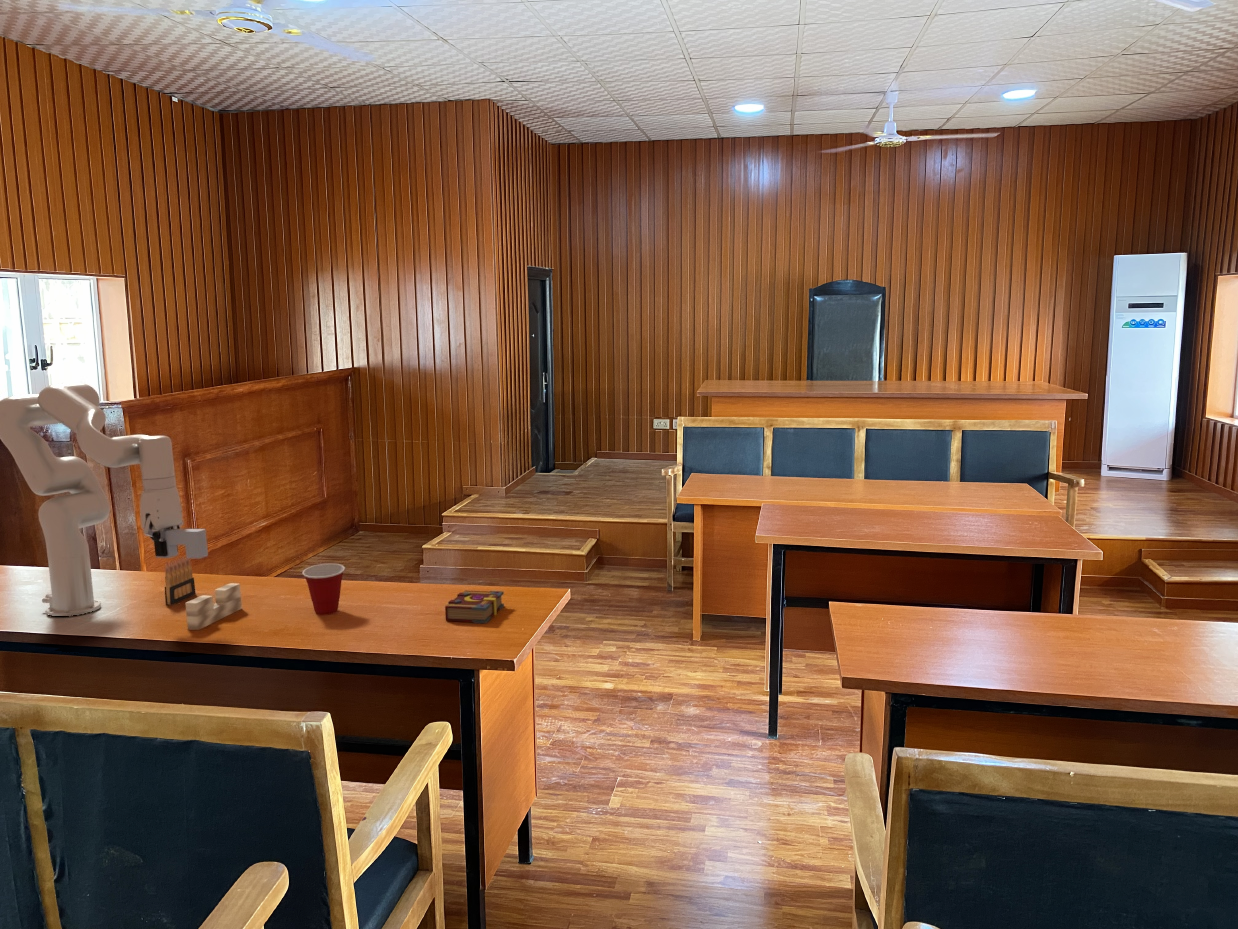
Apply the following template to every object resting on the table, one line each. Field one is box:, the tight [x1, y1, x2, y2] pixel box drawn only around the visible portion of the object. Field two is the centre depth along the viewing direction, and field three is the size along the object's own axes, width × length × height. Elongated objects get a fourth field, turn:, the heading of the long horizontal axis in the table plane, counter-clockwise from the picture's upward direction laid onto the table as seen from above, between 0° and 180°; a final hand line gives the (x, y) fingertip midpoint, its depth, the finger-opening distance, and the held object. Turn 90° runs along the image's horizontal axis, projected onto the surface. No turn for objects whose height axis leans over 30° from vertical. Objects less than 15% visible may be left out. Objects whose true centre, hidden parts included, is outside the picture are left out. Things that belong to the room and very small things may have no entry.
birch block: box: [185, 582, 243, 631], centre depth 228 cm, size 18×3×7 cm, turn 169°
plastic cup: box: [301, 562, 346, 616], centre depth 233 cm, size 11×11×12 cm
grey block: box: [155, 528, 209, 559], centre depth 224 cm, size 13×3×7 cm, turn 78°
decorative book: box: [444, 590, 505, 624], centre depth 231 cm, size 11×16×5 cm
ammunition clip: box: [164, 555, 196, 606], centre depth 246 cm, size 11×2×12 cm, turn 171°
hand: (166, 553), depth 225 cm, fingers closed on grey block, 3 cm apart
